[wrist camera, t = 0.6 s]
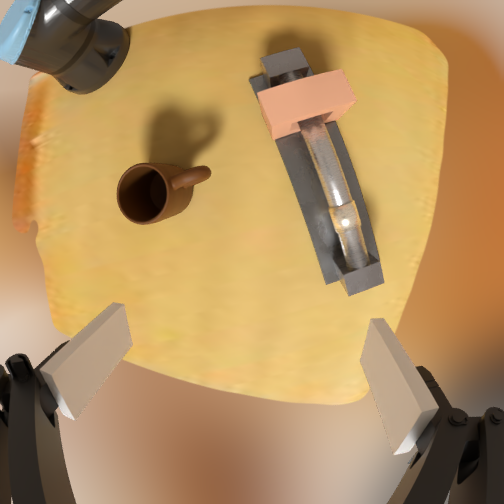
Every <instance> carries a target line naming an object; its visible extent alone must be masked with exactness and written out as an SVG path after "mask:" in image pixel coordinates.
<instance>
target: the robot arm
mask: <svg viewBox="0 0 504 504" xmlns="http://www.w3.org/2000/svg"><path fill="white" fill-rule="evenodd" d="M121 1H122V0H15V2H14V3H13V4H12V6H11V7H10V9H9V10H8V12H7V13H6V15H5V17H4V19H3V20H2V23H1V25H0V60H3V61H6V62H8V63H10V64H16V65H20V66H23V67H27V68H31V69H34V70H37V71H40V72H44V73H47V74H50V75H52V76H53V77H54V78H55V79H56V80H57V81H58V82H59V83H60V84H61V85H62V86H63V87H64V88H65V89H66V90H68V91H70V92H73V93H76V94H87V93H91V92H93V91H95V90H97V89H99V88H100V87H102V86H103V85H104V84H105V83H107V82H108V81H109V80H110V79H111V78H112V77H113V76H114V74H115V73H116V72H117V71H118V69H119V68H120V66H121V65H122V63H123V61H124V59H125V57H126V55H127V52H128V49H129V35H128V33H127V31H126V30H125V29H124V28H123V27H122V26H120V25H119V24H118V23H115V22H112V21H107V20H102V19H97V18H98V17H99V16H101V15H102V14H103V13H105V12H106V11H108V10H109V9H110V8H112V7H113V6H115V5H116V4H118V3H119V2H121ZM132 345H133V344H132V340H131V335H130V331H129V326H128V321H127V316H126V311H125V305H124V304H121V303H114V302H113V303H112V304H111V305H110V306H108V307H107V308H106V309H105V310H104V311H103V312H102V313H100V314H99V315H98V316H97V317H96V318H95V319H94V320H92V321H91V322H90V323H89V324H88V325H87V326H86V327H85V328H83V329H82V330H81V331H80V332H79V333H78V334H77V335H76V336H75V337H73V338H72V339H71V340H69V341H67V342H65V343H63V344H61V345H60V346H59V347H58V348H56V349H55V351H53V352H52V353H51V354H50V356H48V357H47V358H46V359H45V360H43V361H42V362H41V363H40V364H39V365H38V366H37V367H36V368H35V369H33V367H32V365H31V363H30V360H29V358H28V357H27V356H26V355H25V354H15V355H13V356H11V357H9V358H8V359H7V361H6V363H5V364H6V367H7V369H8V371H9V372H10V374H7V373H6V371H5V369H4V367H3V366H2V365H0V404H1V405H2V407H3V409H2V411H1V410H0V504H11V497H12V500H13V504H76V502H75V498H74V495H73V492H72V488H71V485H70V481H69V477H68V473H67V468H66V464H65V459H64V454H63V449H62V444H61V437H60V430H59V422H58V415H57V413H56V411H55V410H56V409H57V408H58V406H59V408H60V410H61V411H62V413H63V415H64V416H67V417H69V418H71V419H73V420H76V419H77V418H78V417H79V415H80V414H81V412H82V411H83V410H84V408H85V407H86V406H87V404H88V403H89V401H90V400H91V399H92V397H93V396H94V395H95V393H96V392H97V391H98V389H99V388H100V387H101V385H102V384H103V383H104V381H105V380H106V379H107V377H108V376H109V375H110V374H111V372H112V371H113V370H114V368H115V367H116V366H117V364H118V363H119V362H120V361H121V359H122V358H123V357H124V355H125V354H126V353H127V352H128V350H129V349H130V348H131V346H132ZM360 362H361V365H362V368H363V370H364V373H365V375H366V378H367V381H368V383H369V386H370V389H371V391H372V394H373V396H374V399H375V402H376V405H377V408H378V410H379V413H380V416H381V419H382V422H383V425H384V428H385V431H386V434H387V437H388V440H389V443H390V446H391V449H392V453H393V455H397V454H401V453H405V452H409V451H410V450H411V449H412V447H413V446H414V445H415V443H416V445H417V448H418V451H417V452H416V453H415V455H414V456H413V458H411V460H410V461H409V462H408V464H410V465H409V467H408V469H407V471H406V473H405V475H404V476H403V478H402V480H401V482H400V484H399V485H398V487H397V488H396V490H395V492H394V493H393V495H392V497H391V498H390V500H389V501H388V503H387V504H444V502H445V500H446V498H447V495H448V493H449V490H450V495H449V501H448V504H504V411H503V410H501V409H500V408H496V407H491V408H489V409H487V411H486V412H485V413H484V415H483V416H482V417H468V415H467V414H466V413H465V412H464V411H463V410H461V409H457V408H452V407H451V405H450V403H449V401H448V400H447V398H446V397H445V395H444V393H443V392H442V390H441V388H440V387H439V385H438V384H437V382H436V381H435V379H434V377H433V376H432V374H431V373H430V372H429V371H428V370H427V369H426V368H424V367H423V366H418V367H415V366H414V364H413V362H412V361H411V359H410V358H409V356H408V355H407V353H406V351H405V350H404V348H403V347H402V345H401V343H400V342H399V340H398V339H397V337H396V336H395V334H394V333H393V331H392V330H391V328H390V327H389V325H388V324H387V322H386V321H385V319H384V318H378V319H371V320H370V324H369V328H368V332H367V336H366V340H365V344H364V348H363V352H362V355H361V359H360Z"/></svg>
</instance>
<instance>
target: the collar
mask: <svg viewBox="0 0 504 504" xmlns="http://www.w3.org/2000/svg"><path fill="white" fill-rule="evenodd" d="M257 95H258V99H259V104H260V108H261V112H262V115H263V118H264V120H265V122H266V125H267V127H268V130H269V132H270V134H271V137H272V139H273V140H275V139H278V138H281V137H284V136H287V135H289V134H292V133H295V132H299V131H301V130H300V128H299V126H298V123H297V122H298V121H301V120H305V119H308V118H311V117H314V116H318V115H321V117H322V119H323V121H324V123H328V122H331V121H335V120H338V119H339V118H340V117H341V116H342V115H343V114H344V113H345V112H346V111H347V110H348V109H349V108H350V107H351V106H352V105H353V104H354V103H355V102H357V99H356V97H355V95H354V93H353V91H352V89H351V87H350V84H349V82H348V80H347V78H346V76H345V74H344V72H343V70H342V69H339V70H334V71H330V72H325V73H321V74H317V75H313V76H310V77H306V78H302V79H299V80H295V81H292V82H288V83H285V84H282V85H279V86H275V87H272V88H269V89H266V90H263V91H261V92H258V93H257Z"/></svg>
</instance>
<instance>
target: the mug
mask: <svg viewBox="0 0 504 504" xmlns="http://www.w3.org/2000/svg"><path fill="white" fill-rule="evenodd" d="M210 176H211V170H210V168H208V167H207V166H197V167H193V168H190V169H187V170H185V171H184V170H183V169H181V168H180V167H177V166H174V165H168V164H161V163H140V164H136V165H134V166H132V167H130V168H129V169H128V170H127V171H126V172H125V173H124V174H123V175H122V177H121V179H120V181H119V183H118V187H117V202H118V205H119V208H120V210H121V212H122V213H123V215H124V216H125V217H126V218H127V219H129V220H130V221H132V222H134V223H136V224H141V225H145V224H151V223H156V222H159V221H162V220H164V219H167V218H169V217H172V216H174V215H177V214H179V213H180V212H182V211H183V210H184V209H185V208H186V207H187V206H188V205H189V203H190V201H191V198H192V194H193V186H192V185H195V184H198V183H200V182H203V181H205V180H207V179H208V178H209V177H210Z"/></svg>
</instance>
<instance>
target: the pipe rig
mask: <svg viewBox="0 0 504 504" xmlns="http://www.w3.org/2000/svg"><path fill="white" fill-rule="evenodd" d="M260 60H261V66H262V73H263V75H261V76H258V77H255V78H252V79H249V82H250V84H251V86H252V88H253V91H254V93H255V95H256V97H257V100H258V102H259V99H258V95H257V93H258V92H261V91H263V90H266V89H269V88H272V87H275V86H279V85H282V84H285V83H288V82H292V81H295V80H299V79H302V78H306V77H310V76H313V75H314V74H313V72H312V70H311V68H310V66H309V64H308V62H307V60H306V59H305V57H304V55H303V53H302V51H301V49H300V48H299V47H298V48H294V49H290V50H286V51H282V52H279V53H275V54H272V55H269V56H266V57H262V58H260ZM297 123H298V126H299V128H300V130H301V131H299V132H295V133H292V134H289V135H287V136H284V137H281V138H278V139H275V142H276V144H277V147H278V149H279V152H280V154H281V157H282V159H283V162H284V165H285V167H286V170H287V172H288V175H289V178H290V180H291V183H292V186H293V188H294V191H295V194H296V196H297V199H298V202H299V205H300V208H301V210H302V213H303V216H304V219H305V222H306V225H307V228H308V230H309V233H310V236H311V239H312V242H313V245H314V248H315V252H316V255H317V258H318V261H319V264H320V267H321V270H322V274H323V277H324V280H325V283H326V285H327V284H330V283H333V282H336V281H339V280H340V282H341V284H342V285H343V287H344V289H345V291H346V292H347V294H348V296H351V295H354V294H357V293H359V292H362V291H365V290H367V289H370V288H372V287H375V286H378V285H380V284H383V283H384V278H383V273H382V269H381V264H380V260H379V255H378V251H377V247H376V243H375V239H374V235H373V231H372V227H371V224H370V220H369V216H368V213H367V210H366V206H365V203H364V199H363V196H362V193H361V190H360V187H359V184H358V181H357V178H356V175H355V172H354V169H353V166H352V163H351V160H350V158H349V155H348V152H347V150H346V147H345V144H344V142H343V139H342V137H341V134H340V132H339V129H338V127H337V124H336V122H335V121H331V122H328V123H324V121H323V119H322V117H321V115H318V116H314V117H311V118H308V119H305V120H301V121H298V122H297Z"/></svg>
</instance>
